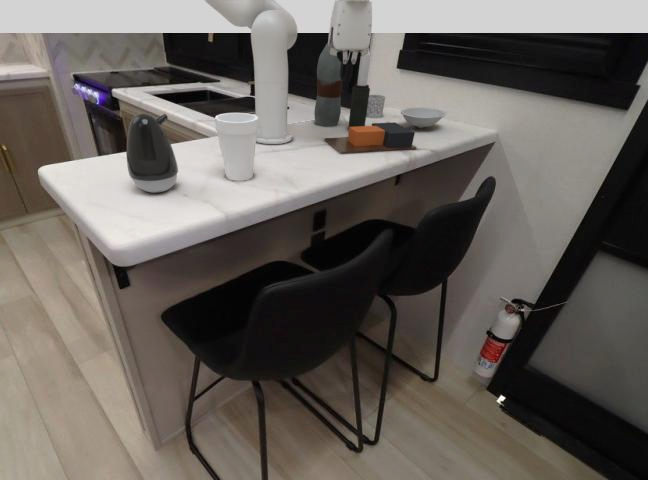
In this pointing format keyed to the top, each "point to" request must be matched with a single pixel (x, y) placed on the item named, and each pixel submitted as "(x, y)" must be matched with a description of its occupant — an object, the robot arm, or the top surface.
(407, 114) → the dish
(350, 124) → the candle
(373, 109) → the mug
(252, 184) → the top surface
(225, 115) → the foam cup
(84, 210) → the top surface
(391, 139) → the back pad
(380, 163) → the top surface
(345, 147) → the board
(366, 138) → the loose pad
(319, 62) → the bottle
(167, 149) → the pump dispenser
